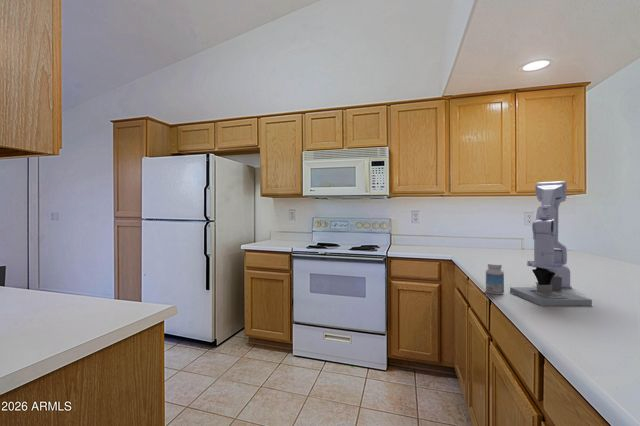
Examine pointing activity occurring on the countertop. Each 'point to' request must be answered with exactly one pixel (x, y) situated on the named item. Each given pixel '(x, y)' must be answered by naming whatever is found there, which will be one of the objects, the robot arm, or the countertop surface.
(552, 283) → the plug
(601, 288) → the countertop surface
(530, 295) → the socket panel
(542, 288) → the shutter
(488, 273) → the pill bottle
